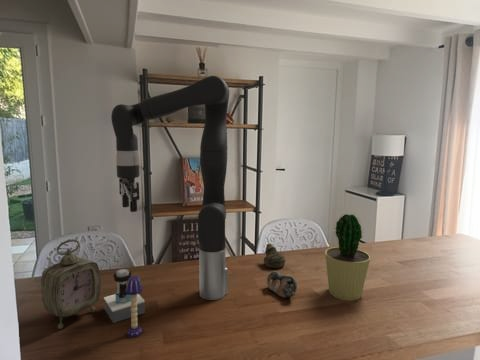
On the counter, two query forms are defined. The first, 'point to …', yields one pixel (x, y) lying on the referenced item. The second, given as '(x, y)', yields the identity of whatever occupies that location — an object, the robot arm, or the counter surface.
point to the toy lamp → (134, 305)
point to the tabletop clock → (70, 285)
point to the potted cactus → (347, 261)
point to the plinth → (122, 308)
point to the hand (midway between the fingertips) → (129, 209)
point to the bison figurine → (282, 284)
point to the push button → (122, 285)
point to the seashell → (273, 257)
